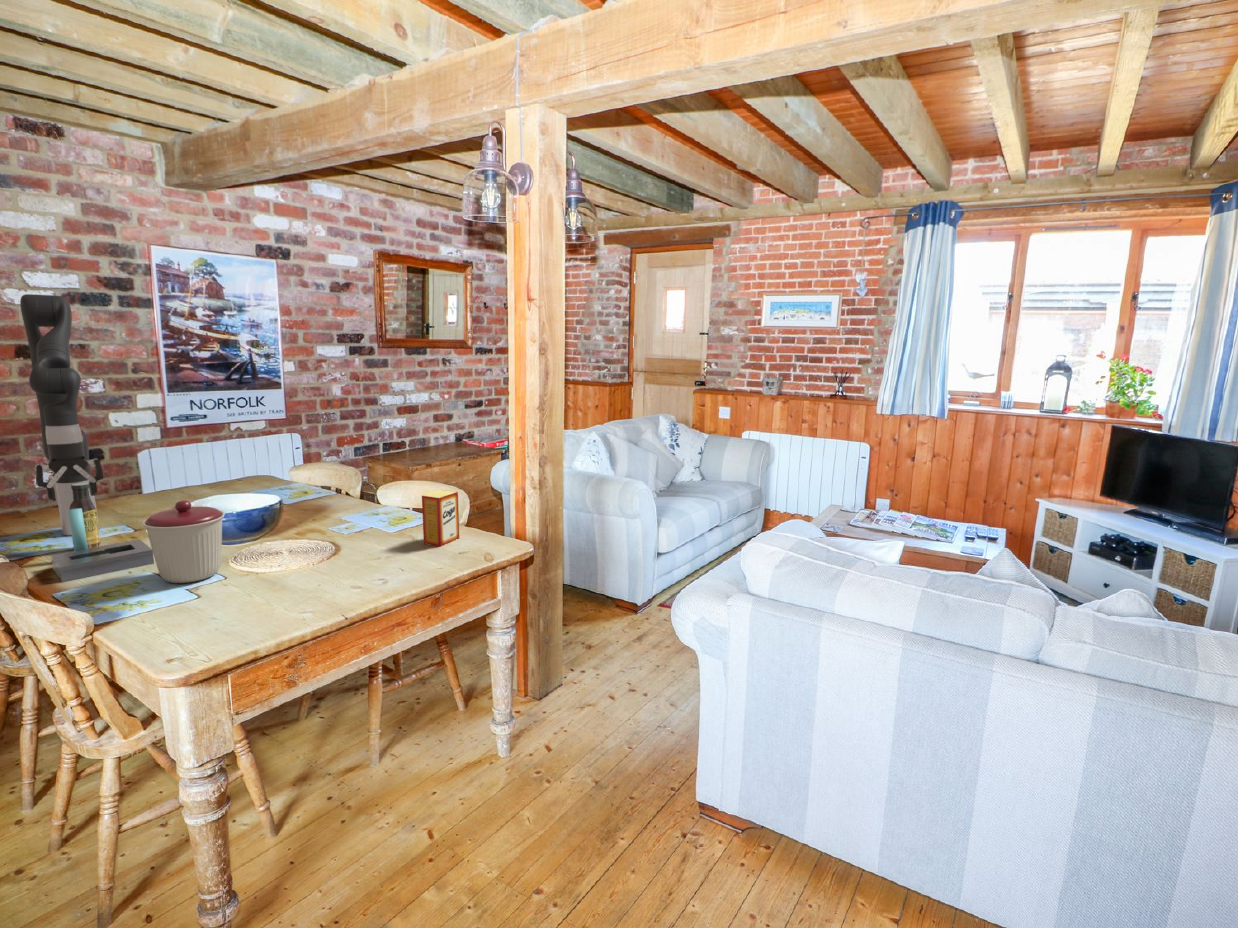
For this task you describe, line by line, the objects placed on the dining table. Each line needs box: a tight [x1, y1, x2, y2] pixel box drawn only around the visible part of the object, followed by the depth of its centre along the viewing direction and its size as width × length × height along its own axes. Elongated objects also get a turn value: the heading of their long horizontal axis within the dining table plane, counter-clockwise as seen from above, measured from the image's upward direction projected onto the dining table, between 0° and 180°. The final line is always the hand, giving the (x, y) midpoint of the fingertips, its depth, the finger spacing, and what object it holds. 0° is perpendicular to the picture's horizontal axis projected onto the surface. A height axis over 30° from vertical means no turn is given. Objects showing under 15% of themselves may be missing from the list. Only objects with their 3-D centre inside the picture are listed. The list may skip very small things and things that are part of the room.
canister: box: [141, 500, 226, 584], centre depth 171 cm, size 18×18×21 cm
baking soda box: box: [421, 489, 460, 548], centre depth 205 cm, size 10×6×16 cm
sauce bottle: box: [69, 483, 101, 548], centre depth 192 cm, size 6×6×20 cm
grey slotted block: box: [50, 538, 155, 583], centre depth 179 cm, size 14×20×4 cm
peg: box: [68, 508, 88, 551], centre depth 183 cm, size 5×5×15 cm
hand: (73, 497), depth 181 cm, fingers open, 8 cm apart
